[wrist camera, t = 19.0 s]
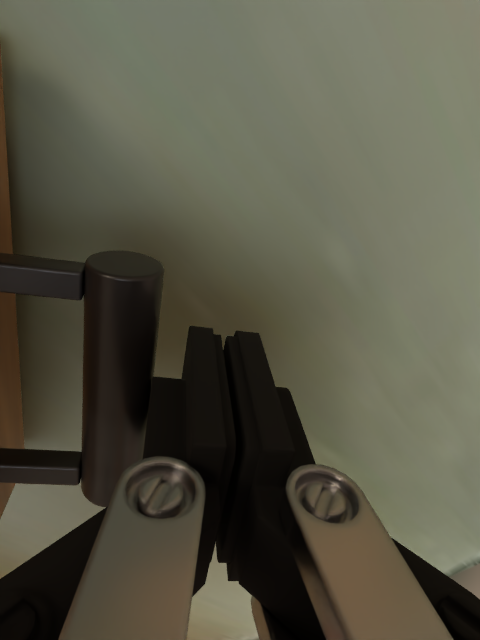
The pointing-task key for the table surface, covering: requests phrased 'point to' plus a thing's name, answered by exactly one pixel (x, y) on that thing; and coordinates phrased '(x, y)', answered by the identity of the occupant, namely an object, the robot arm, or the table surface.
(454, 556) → the table surface
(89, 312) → the drawer
